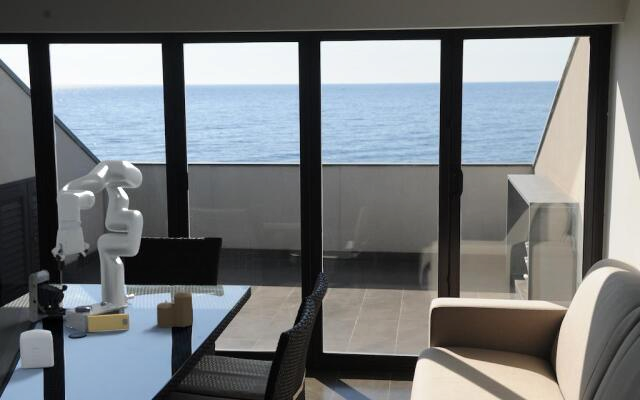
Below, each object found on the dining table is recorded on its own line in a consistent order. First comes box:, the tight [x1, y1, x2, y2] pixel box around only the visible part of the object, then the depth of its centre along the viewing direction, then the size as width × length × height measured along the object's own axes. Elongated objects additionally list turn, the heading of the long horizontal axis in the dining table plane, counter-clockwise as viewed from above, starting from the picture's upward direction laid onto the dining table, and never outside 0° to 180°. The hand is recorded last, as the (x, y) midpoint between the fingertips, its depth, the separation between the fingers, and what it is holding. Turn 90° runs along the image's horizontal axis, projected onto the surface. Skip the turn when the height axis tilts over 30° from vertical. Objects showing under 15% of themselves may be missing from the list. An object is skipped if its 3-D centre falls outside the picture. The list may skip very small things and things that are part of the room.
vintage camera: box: [28, 269, 69, 323], centre depth 317 cm, size 10×15×20 cm, turn 78°
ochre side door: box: [84, 313, 130, 334], centre depth 301 cm, size 16×2×7 cm, turn 105°
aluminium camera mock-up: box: [65, 301, 126, 333], centre depth 311 cm, size 18×13×8 cm
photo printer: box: [19, 329, 55, 370], centre depth 259 cm, size 10×4×12 cm, turn 100°
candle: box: [156, 286, 193, 329], centre depth 311 cm, size 14×14×15 cm
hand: (71, 268), depth 304 cm, fingers open, 9 cm apart
